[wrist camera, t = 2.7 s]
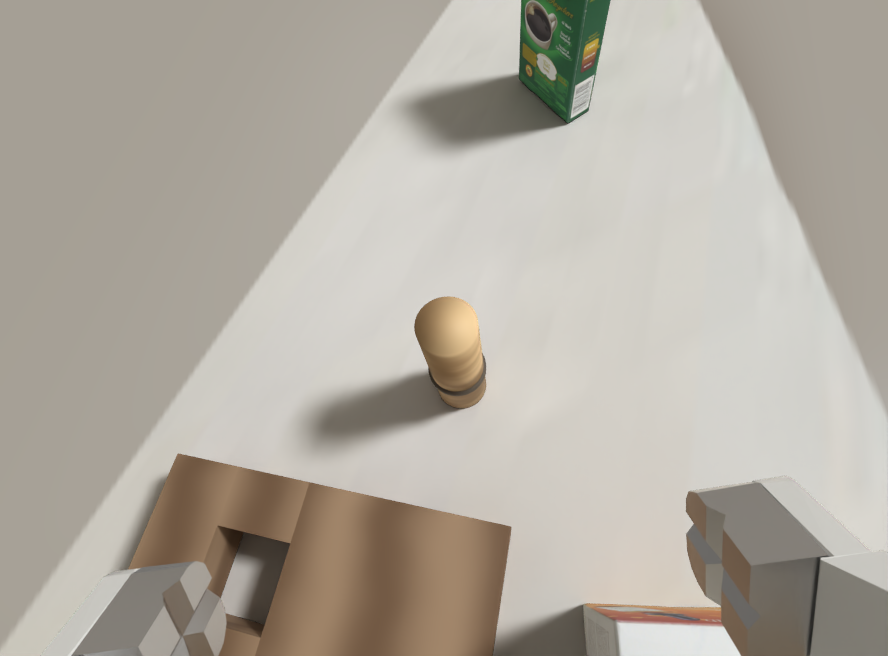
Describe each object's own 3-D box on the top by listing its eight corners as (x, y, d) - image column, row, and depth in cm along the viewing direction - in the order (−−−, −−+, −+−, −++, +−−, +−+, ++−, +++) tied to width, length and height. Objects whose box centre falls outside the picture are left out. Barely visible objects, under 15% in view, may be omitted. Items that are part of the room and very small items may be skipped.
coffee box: (593, 113, 46) (622, -43, 34) (568, 127, 46) (588, -25, 34) (541, 68, 50) (550, -87, 38) (517, 81, 49) (519, -72, 37)
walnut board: (511, 530, 32) (511, 526, 28) (476, 767, 27) (471, 793, 24) (206, 463, 36) (177, 453, 33) (129, 656, 31) (86, 665, 28)
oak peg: (492, 364, 37) (486, 298, 28) (482, 414, 35) (473, 361, 26) (441, 357, 37) (420, 290, 28) (430, 405, 36) (404, 351, 27)
